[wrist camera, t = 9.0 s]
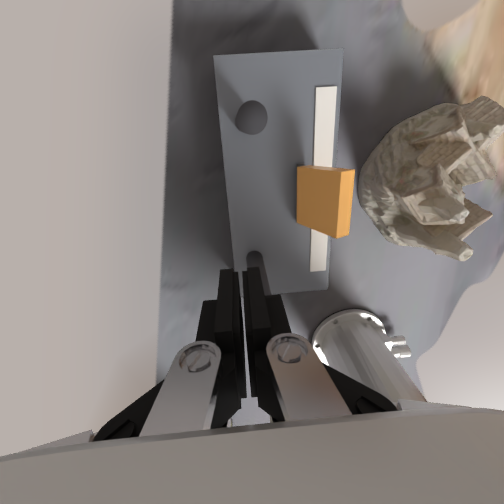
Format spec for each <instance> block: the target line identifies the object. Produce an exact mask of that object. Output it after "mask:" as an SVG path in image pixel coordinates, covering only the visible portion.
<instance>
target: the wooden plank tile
mask: <svg viewBox="0 0 504 504" xmlns="http://www.w3.org/2000/svg"><path fill="white" fill-rule="evenodd" d="M354 175H355V170H353V169H343V168H333V167H323V166H313V165H307V166H304V163H298V164H297V177H296V223H298V224H301V225H303V226H306V227H308V228H311V229H313V230H316V231H318V232H321V233H323V234H326V235H328V236H331V237H333V238H336V239H337V238H340V237H343V236H347V235H349V227H350V217H351V206H352V196H353V186H354Z"/></svg>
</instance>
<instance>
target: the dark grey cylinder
mask: <svg viewBox="0 0 504 504" xmlns="http://www.w3.org/2000/svg"><path fill="white" fill-rule="evenodd" d="M246 261H247V267H259V269H260V274H261V279H262V284H263V290H264V295H272V294H271V290H270V286H269V282H268V278H267V273H266V269H265V265H264V261H263V257H262V254H261V253H260V252H258V251H251V252H249V253H248V254H247V257H246Z"/></svg>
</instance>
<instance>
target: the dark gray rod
mask: <svg viewBox="0 0 504 504" xmlns="http://www.w3.org/2000/svg"><path fill="white" fill-rule="evenodd" d="M267 120H268V115H267V111H266V109H265V107H264V106H263V105H262V104H261V103H260V102H258V101H255V100H250V101H247V102H245V103H243V104H242V105H241V106H240V108H239V110H238V112H237V115H236V118H235V125H236V127H237V129H238V130H239V131H241V132H243V133H246V134H249V135H256V134H258V133H260V132H262V131H263V130H264V128H265V127H266V124H267Z"/></svg>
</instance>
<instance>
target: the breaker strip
mask: <svg viewBox="0 0 504 504" xmlns="http://www.w3.org/2000/svg"><path fill="white" fill-rule="evenodd" d="M343 54H344V48H336V49H318V50H301V51H283V52H265V53H248V54H230V55H213V61H214V71H215V81H216V91H217V101H218V111H219V121H220V131H221V141H222V151H223V161H224V171H225V181H226V190H227V200H228V210H229V220H230V230H231V240H232V250H233V260H234V270H235V272H238V275H239V286H240V296H241V297H244V296H243V279H242V271H247V261H246V257H247V254H248V253H249V252H251V251H258V252H260V253H261V254H262V257H263V261H264V265H265V269H266V273H267V278H268V282H269V286H270V290H271V294H281V293H293V292H304V291H315V290H327V289H328V278H329V263H330V248H331V236H328V235H326V234H323V233H321V232H318V231H316V230H313V229H311V228H308V227H306V226H303V225H301V224H298V223H296V177H297V164H298V163H304V166H307V165H313V166H323V167H333V168H336V159H337V144H338V129H339V114H340V99H341V84H342V69H343ZM250 100H255V101H258V102H260V103H261V104H262V105H263V106H264V107H265V109H266V111H267V115H268V120H267V124H266V127H265V128H264V130H263V131H262V132H260V133H258V134H256V135H249V134H246V133H243V132H241V131H239V130H238V129H237V127H236V125H235V118H236V115H237V112H238V110H239V108H240V106H241V105H242V104H243V103H245V102H247V101H250Z"/></svg>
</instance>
